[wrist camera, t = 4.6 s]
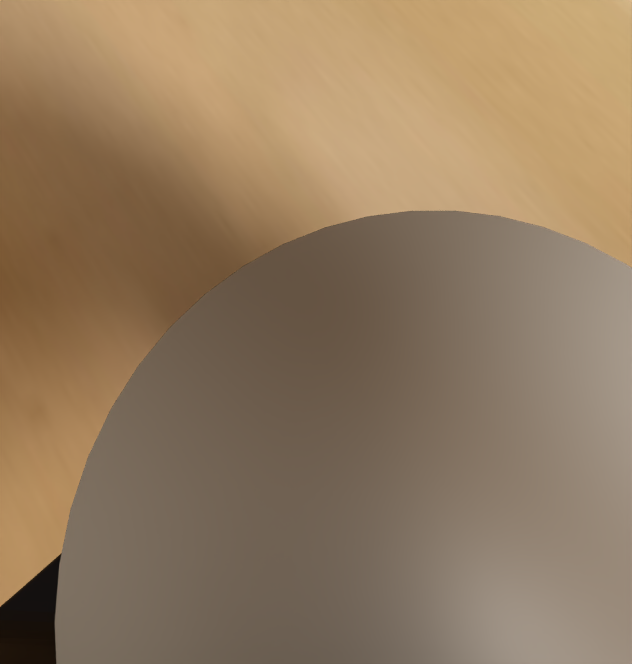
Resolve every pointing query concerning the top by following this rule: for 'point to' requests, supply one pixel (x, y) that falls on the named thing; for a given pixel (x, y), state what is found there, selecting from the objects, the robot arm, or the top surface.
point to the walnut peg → (370, 460)
